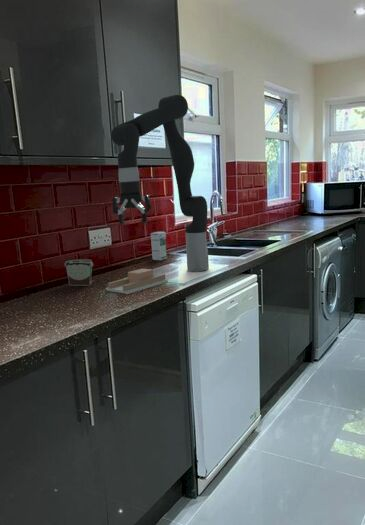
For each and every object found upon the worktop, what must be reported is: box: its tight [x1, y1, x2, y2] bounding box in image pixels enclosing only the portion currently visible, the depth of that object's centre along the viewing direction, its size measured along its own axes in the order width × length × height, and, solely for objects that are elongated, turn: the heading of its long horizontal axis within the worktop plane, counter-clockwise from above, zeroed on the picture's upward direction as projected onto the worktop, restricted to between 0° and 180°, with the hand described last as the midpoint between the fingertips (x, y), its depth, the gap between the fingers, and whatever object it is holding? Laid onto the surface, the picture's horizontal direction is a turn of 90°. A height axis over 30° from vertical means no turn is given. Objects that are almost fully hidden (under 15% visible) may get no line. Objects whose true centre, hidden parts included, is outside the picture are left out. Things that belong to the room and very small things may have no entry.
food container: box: [64, 258, 94, 287], centre depth 180 cm, size 12×6×10 cm, turn 74°
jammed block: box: [127, 268, 154, 283], centre depth 173 cm, size 8×6×4 cm
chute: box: [105, 273, 169, 295], centre depth 172 cm, size 22×12×3 cm, turn 140°
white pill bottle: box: [150, 231, 168, 261], centre depth 230 cm, size 6×6×14 cm
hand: (133, 224), depth 165 cm, fingers open, 8 cm apart
